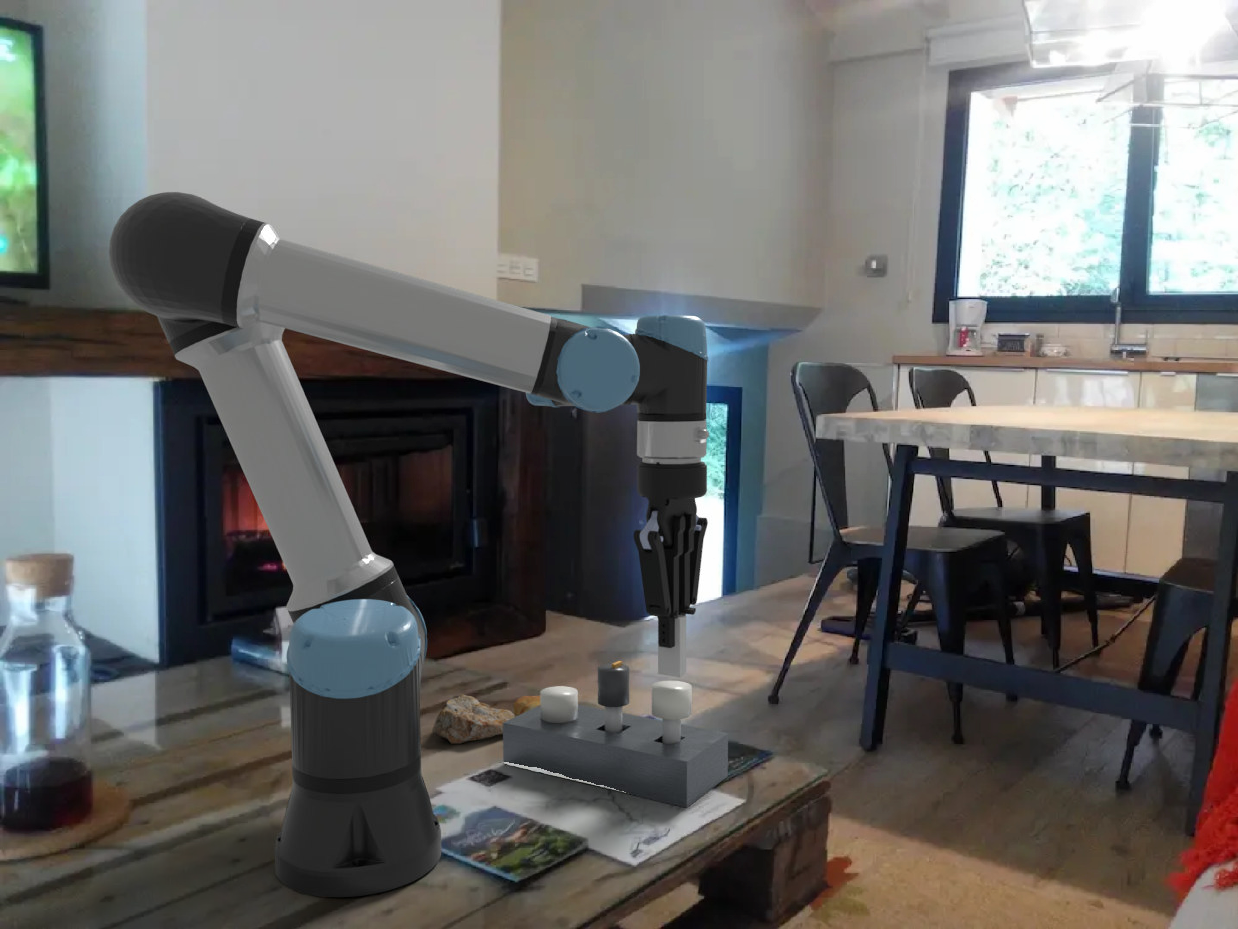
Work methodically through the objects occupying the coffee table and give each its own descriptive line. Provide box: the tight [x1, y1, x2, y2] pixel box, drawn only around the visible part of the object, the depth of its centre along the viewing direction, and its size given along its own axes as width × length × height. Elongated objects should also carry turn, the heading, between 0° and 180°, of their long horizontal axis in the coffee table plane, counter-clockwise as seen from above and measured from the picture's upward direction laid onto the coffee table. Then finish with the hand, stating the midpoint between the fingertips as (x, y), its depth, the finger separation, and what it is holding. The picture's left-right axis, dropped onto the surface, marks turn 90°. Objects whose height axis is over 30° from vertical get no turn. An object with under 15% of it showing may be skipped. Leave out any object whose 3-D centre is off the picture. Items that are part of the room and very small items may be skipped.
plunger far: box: [539, 685, 579, 723], centre depth 124 cm, size 4×4×8 cm
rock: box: [431, 693, 516, 745], centre depth 133 cm, size 9×6×10 cm
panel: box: [502, 704, 729, 809], centre depth 120 cm, size 24×10×5 cm, turn 59°
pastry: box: [512, 694, 540, 716], centre depth 138 cm, size 9×7×4 cm
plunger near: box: [651, 680, 693, 745], centre depth 116 cm, size 4×4×8 cm
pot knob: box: [597, 660, 630, 734], centre depth 120 cm, size 4×4×9 cm
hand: (672, 673), depth 116 cm, fingers closed
